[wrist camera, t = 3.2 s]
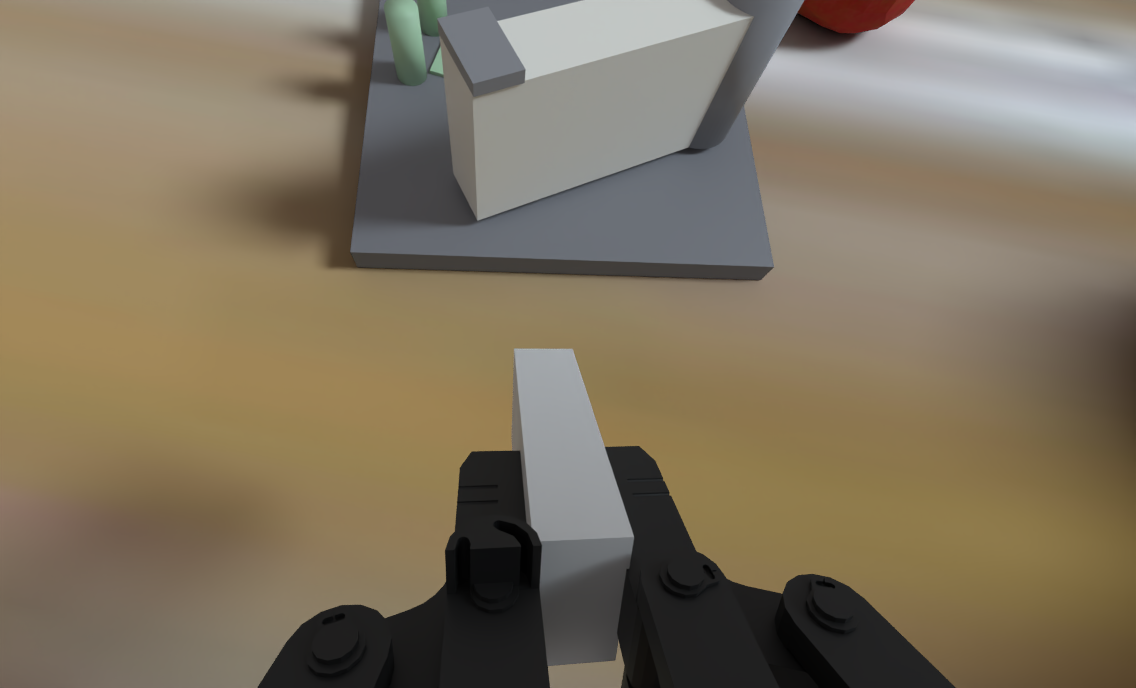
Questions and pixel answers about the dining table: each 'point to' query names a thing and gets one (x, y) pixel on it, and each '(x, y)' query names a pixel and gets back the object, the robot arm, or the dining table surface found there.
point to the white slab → (595, 88)
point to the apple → (853, 13)
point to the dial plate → (551, 224)
